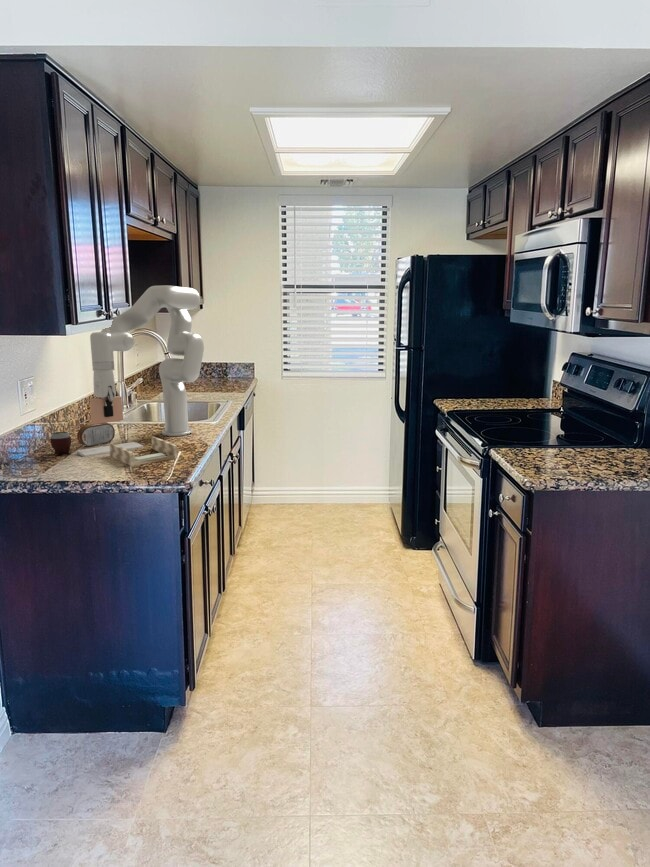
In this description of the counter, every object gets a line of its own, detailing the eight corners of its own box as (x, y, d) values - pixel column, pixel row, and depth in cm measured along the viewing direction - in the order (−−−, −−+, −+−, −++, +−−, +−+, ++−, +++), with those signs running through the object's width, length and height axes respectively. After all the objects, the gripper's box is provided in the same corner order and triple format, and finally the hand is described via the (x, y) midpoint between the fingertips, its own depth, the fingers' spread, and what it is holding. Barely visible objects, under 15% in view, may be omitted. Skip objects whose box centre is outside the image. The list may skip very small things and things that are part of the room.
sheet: (91, 423, 228) (89, 398, 226) (120, 419, 234) (118, 395, 233) (93, 424, 226) (91, 399, 224) (123, 420, 232) (121, 396, 231)
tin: (112, 440, 250) (110, 420, 248) (116, 441, 248) (115, 421, 246) (77, 447, 239) (75, 426, 237) (82, 448, 237) (79, 427, 235)
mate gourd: (76, 452, 231) (72, 412, 228) (63, 457, 224) (59, 416, 220) (58, 451, 233) (54, 412, 229) (45, 456, 225) (40, 416, 222)
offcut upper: (134, 461, 216) (133, 457, 216) (160, 455, 222) (160, 452, 222) (138, 462, 213) (138, 459, 213) (165, 457, 219) (165, 454, 219)
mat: (77, 453, 229) (76, 450, 229) (134, 444, 243) (134, 441, 243) (85, 457, 222) (85, 455, 222) (143, 448, 236) (143, 445, 236)
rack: (110, 456, 224) (109, 443, 223) (154, 449, 234) (153, 436, 233) (131, 467, 209) (130, 452, 208) (177, 458, 220) (176, 445, 219)
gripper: (85, 365, 230) (89, 414, 233) (101, 368, 217) (105, 420, 221) (105, 364, 234) (109, 412, 238) (121, 367, 222) (125, 417, 226)
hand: (107, 415), depth 230 cm, fingers closed on sheet, 2 cm apart
